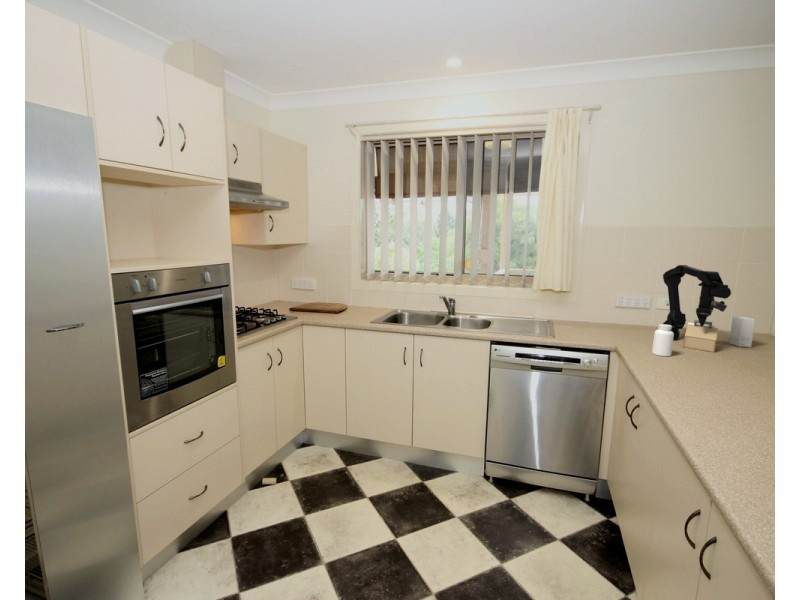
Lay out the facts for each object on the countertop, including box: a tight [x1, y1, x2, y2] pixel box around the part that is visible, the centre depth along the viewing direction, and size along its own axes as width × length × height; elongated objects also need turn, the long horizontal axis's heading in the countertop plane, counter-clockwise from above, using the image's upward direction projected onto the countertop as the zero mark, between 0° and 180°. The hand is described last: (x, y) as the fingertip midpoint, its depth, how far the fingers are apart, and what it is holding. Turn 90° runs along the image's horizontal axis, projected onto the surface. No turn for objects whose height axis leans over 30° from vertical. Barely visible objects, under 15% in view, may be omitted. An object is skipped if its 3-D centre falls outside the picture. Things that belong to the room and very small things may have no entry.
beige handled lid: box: [684, 319, 719, 342], centre depth 204 cm, size 13×11×4 cm
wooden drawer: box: [682, 335, 718, 353], centre depth 207 cm, size 13×11×6 cm
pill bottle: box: [651, 323, 674, 357], centre depth 192 cm, size 8×8×15 cm
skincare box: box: [728, 315, 756, 348], centre depth 213 cm, size 8×7×16 cm
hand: (702, 324), depth 204 cm, fingers open, 9 cm apart
